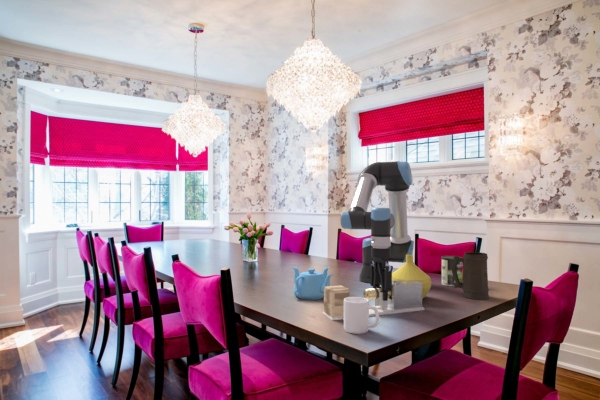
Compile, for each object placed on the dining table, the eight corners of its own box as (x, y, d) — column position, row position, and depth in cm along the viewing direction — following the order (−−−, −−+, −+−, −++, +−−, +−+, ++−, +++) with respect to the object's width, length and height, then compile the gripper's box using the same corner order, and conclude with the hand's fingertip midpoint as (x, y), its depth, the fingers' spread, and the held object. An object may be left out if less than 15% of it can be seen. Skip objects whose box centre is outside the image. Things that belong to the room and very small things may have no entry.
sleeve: (383, 307, 159) (383, 281, 159) (411, 305, 164) (411, 279, 164) (393, 312, 153) (393, 285, 152) (422, 309, 157) (422, 282, 157)
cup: (349, 324, 138) (349, 295, 138) (382, 330, 132) (382, 299, 132) (339, 331, 131) (339, 300, 131) (375, 337, 125) (375, 305, 125)
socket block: (323, 314, 150) (323, 286, 150) (341, 312, 153) (341, 285, 153) (331, 319, 144) (331, 290, 143) (349, 317, 146) (349, 289, 146)
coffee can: (466, 284, 203) (466, 257, 203) (456, 287, 196) (456, 259, 196) (447, 281, 211) (447, 255, 211) (437, 284, 204) (437, 256, 204)
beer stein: (489, 295, 181) (485, 251, 181) (492, 300, 171) (488, 254, 171) (453, 294, 186) (450, 252, 186) (454, 300, 176) (450, 254, 176)
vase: (408, 306, 162) (408, 259, 162) (379, 296, 178) (379, 253, 178) (440, 300, 171) (440, 256, 171) (410, 291, 187) (410, 251, 187)
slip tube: (406, 294, 161) (406, 284, 161) (412, 296, 157) (413, 286, 157) (363, 298, 154) (363, 288, 154) (368, 301, 150) (368, 290, 150)
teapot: (328, 291, 188) (328, 265, 188) (333, 301, 170) (333, 272, 170) (292, 291, 188) (292, 265, 188) (293, 301, 169) (293, 272, 169)
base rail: (322, 313, 151) (322, 311, 151) (410, 304, 165) (410, 302, 165) (331, 320, 142) (331, 318, 142) (424, 310, 156) (424, 307, 156)
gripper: (361, 245, 161) (361, 302, 161) (384, 250, 145) (384, 313, 145) (377, 244, 164) (377, 300, 164) (401, 249, 148) (401, 312, 148)
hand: (380, 306), depth 155 cm, fingers closed on slip tube, 4 cm apart
